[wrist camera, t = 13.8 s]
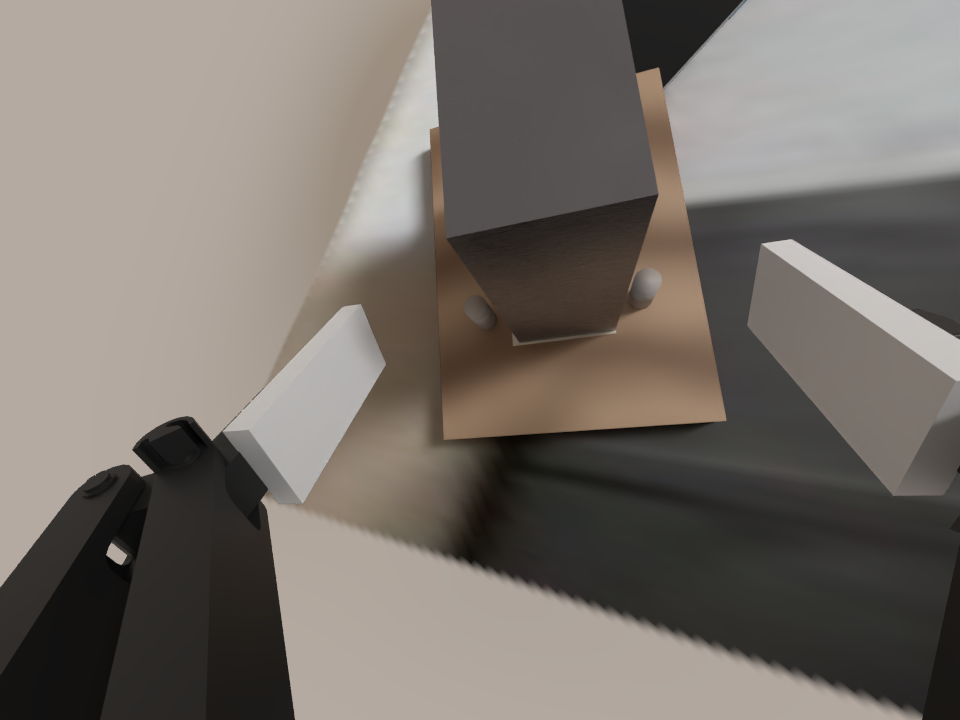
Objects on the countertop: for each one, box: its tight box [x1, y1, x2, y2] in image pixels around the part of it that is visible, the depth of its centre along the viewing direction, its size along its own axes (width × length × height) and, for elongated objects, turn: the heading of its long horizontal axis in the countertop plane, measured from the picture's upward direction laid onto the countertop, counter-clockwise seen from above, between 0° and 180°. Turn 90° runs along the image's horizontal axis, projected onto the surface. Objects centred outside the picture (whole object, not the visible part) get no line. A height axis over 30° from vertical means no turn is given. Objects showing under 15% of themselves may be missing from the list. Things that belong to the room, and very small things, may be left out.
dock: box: [430, 68, 727, 440], centre depth 21 cm, size 20×14×4 cm
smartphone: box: [622, 0, 746, 90], centre depth 24 cm, size 7×1×15 cm
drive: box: [431, 0, 659, 343], centre depth 16 cm, size 10×5×12 cm, turn 4°
